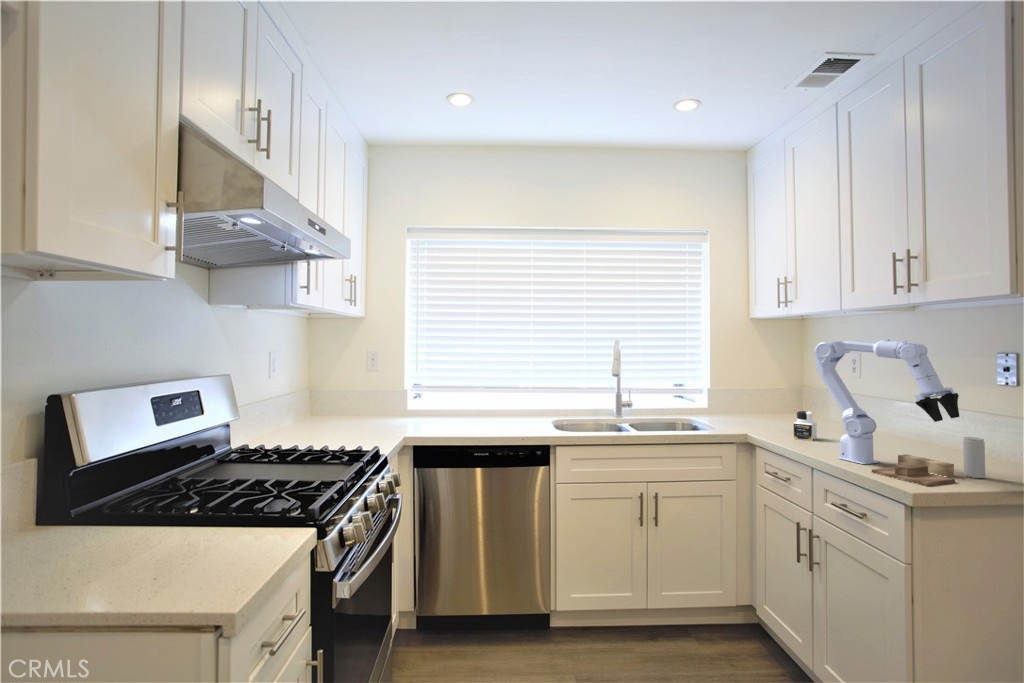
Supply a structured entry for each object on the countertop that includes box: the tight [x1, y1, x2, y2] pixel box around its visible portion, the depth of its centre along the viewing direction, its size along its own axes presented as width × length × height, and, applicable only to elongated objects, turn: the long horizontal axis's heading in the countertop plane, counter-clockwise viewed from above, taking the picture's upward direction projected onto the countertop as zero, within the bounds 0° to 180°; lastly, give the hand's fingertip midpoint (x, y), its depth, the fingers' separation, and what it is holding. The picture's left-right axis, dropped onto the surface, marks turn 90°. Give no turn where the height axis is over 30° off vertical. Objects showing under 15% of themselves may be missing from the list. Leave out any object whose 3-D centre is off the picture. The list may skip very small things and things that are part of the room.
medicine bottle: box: [793, 410, 818, 441], centre depth 212 cm, size 7×7×12 cm
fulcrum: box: [871, 464, 956, 487], centre depth 150 cm, size 16×12×4 cm
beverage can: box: [962, 436, 986, 479], centre depth 149 cm, size 5×5×12 cm
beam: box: [897, 453, 955, 477], centre depth 157 cm, size 14×4×4 cm, turn 16°
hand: (947, 419), depth 150 cm, fingers open, 7 cm apart
